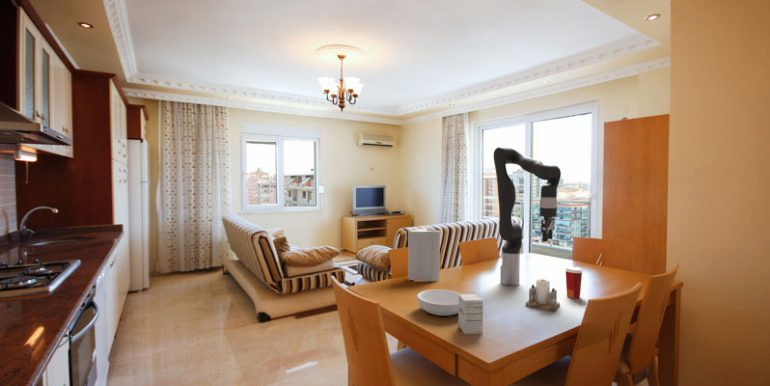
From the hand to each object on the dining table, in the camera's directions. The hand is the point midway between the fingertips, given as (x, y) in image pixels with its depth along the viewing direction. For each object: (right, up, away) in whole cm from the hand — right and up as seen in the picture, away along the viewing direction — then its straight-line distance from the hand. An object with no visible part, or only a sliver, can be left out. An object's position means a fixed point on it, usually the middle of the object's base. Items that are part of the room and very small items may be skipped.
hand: (547, 240), depth 176 cm
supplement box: (-46, -29, -39) cm, 67 cm away
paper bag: (-54, -27, +34) cm, 69 cm away
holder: (-8, -28, -12) cm, 32 cm away
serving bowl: (-54, -29, -20) cm, 65 cm away
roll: (-8, -27, -12) cm, 30 cm away
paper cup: (+13, -28, +1) cm, 31 cm away
